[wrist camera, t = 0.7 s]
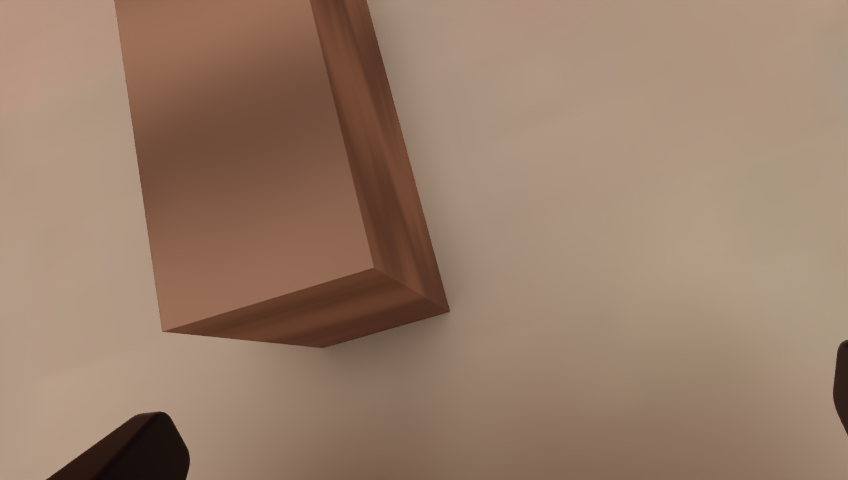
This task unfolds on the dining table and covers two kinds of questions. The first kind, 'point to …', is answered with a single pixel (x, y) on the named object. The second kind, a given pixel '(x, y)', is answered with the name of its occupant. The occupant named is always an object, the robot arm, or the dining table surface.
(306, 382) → the dining table surface
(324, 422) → the dining table surface
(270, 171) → the brown patterned block
